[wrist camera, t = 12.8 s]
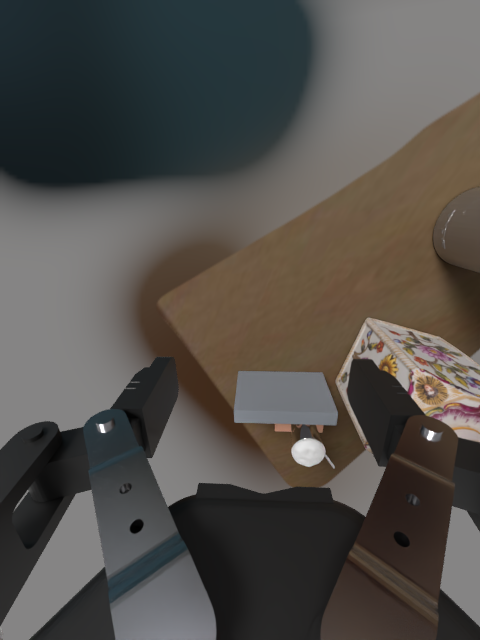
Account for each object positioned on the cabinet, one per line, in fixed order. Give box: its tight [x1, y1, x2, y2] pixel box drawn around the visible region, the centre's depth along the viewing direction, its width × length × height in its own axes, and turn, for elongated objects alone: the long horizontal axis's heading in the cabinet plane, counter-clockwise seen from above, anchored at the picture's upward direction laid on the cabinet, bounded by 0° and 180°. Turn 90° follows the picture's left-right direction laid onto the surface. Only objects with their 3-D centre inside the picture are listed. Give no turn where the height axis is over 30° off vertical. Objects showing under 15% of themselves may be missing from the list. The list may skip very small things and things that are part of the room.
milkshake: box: [291, 424, 335, 469], centre depth 40 cm, size 4×5×10 cm
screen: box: [234, 371, 338, 425], centre depth 39 cm, size 13×2×9 cm, turn 91°
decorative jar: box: [336, 318, 480, 454], centre depth 33 cm, size 12×12×18 cm
